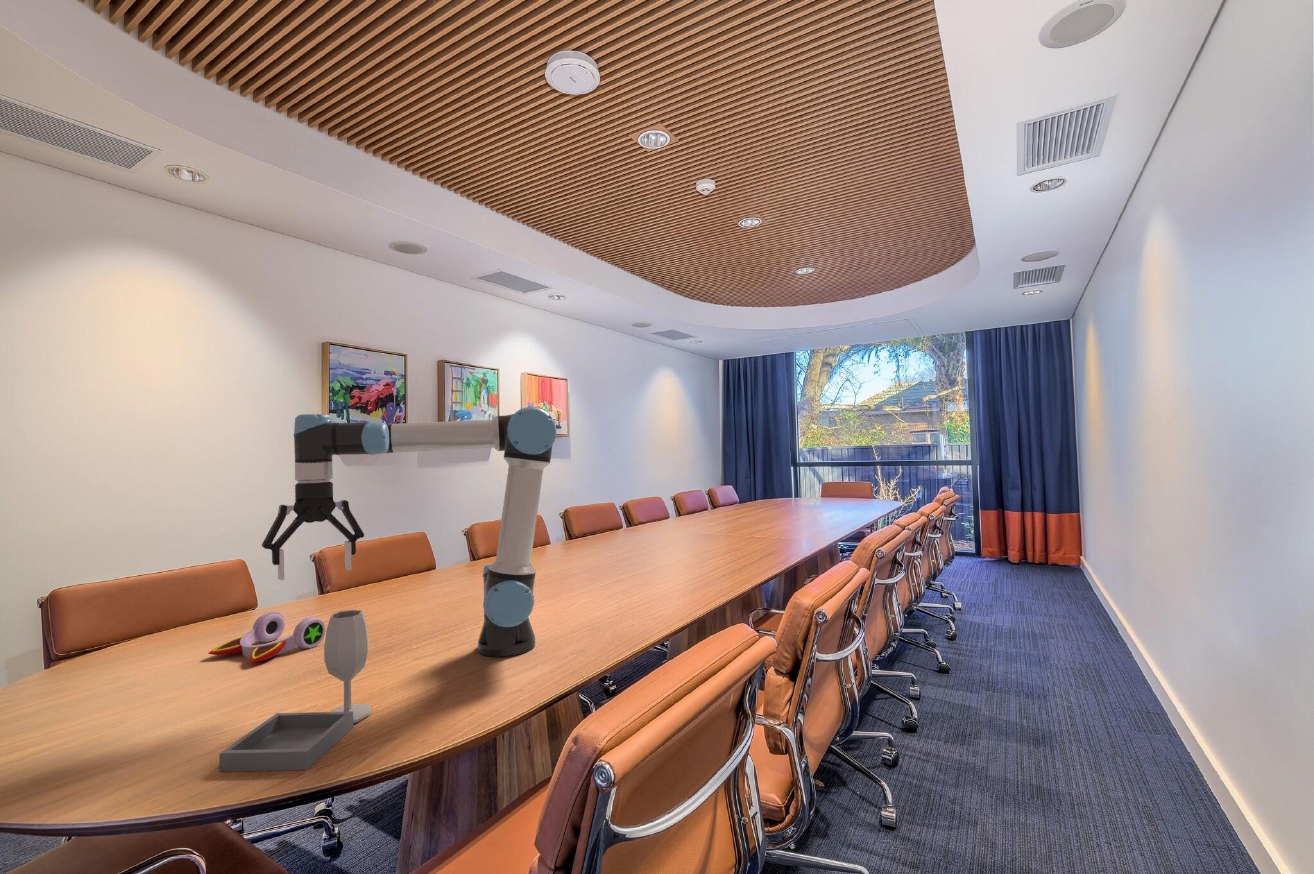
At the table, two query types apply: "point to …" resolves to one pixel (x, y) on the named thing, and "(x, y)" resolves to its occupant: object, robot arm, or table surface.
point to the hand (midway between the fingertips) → (315, 574)
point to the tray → (287, 742)
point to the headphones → (273, 638)
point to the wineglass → (347, 655)
